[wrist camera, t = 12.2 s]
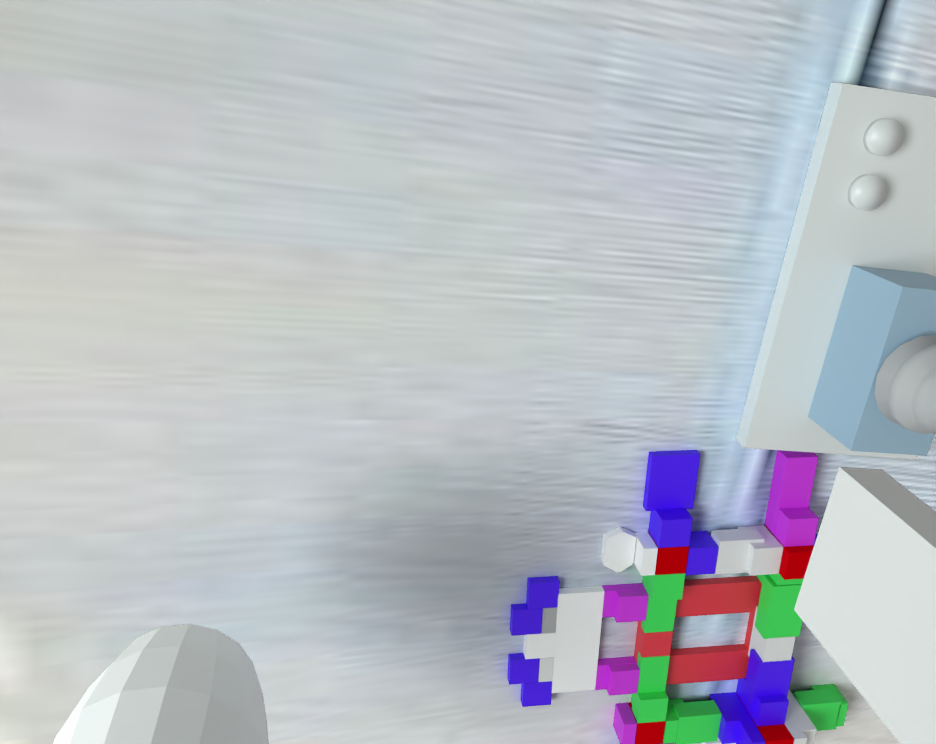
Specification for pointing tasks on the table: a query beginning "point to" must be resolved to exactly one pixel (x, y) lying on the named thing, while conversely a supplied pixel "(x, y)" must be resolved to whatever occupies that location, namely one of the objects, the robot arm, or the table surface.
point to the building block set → (668, 596)
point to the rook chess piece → (909, 385)
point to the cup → (173, 694)
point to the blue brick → (872, 357)
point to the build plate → (842, 250)
